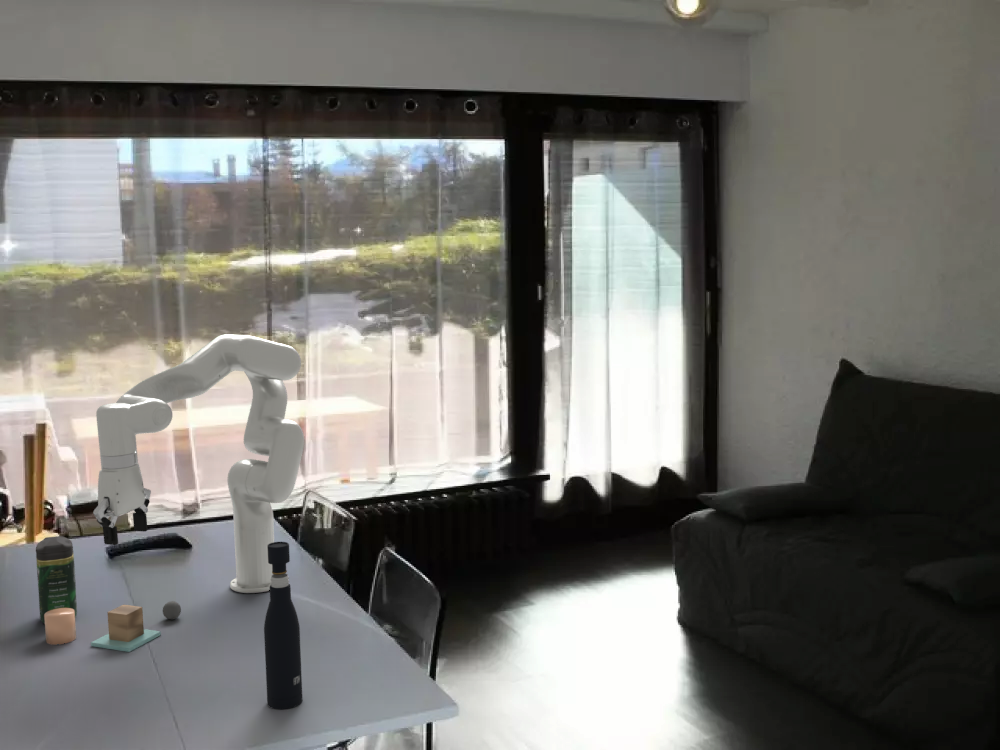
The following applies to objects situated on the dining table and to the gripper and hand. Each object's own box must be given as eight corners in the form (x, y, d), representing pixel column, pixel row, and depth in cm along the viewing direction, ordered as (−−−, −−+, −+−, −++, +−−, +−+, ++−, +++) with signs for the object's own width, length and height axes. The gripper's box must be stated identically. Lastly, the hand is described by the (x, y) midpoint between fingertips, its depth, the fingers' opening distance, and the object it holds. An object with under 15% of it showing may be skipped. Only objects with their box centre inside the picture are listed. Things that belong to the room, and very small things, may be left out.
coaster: (123, 629, 233) (123, 626, 233) (160, 634, 229) (160, 631, 229) (91, 645, 224) (90, 642, 224) (129, 651, 220) (129, 648, 220)
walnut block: (125, 631, 230) (123, 604, 229) (143, 633, 228) (142, 607, 227) (109, 639, 225) (107, 612, 224) (128, 642, 224) (126, 614, 223)
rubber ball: (170, 614, 242) (169, 598, 241) (185, 616, 240) (184, 599, 240) (159, 620, 238) (158, 603, 238) (173, 622, 237) (172, 605, 236)
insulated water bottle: (269, 695, 198) (262, 540, 194) (304, 693, 199) (297, 538, 195) (265, 710, 192) (257, 550, 188) (300, 708, 192) (294, 548, 189)
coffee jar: (78, 622, 238) (73, 542, 235) (40, 627, 235) (34, 546, 232) (77, 608, 247) (72, 531, 244) (40, 614, 244) (34, 535, 241)
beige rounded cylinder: (60, 632, 232) (58, 606, 231) (82, 636, 230) (80, 609, 229) (39, 642, 226) (37, 615, 225) (61, 646, 224) (60, 619, 223)
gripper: (131, 451, 237) (138, 524, 239) (76, 469, 221) (84, 548, 223) (159, 452, 234) (165, 527, 237) (106, 471, 218) (113, 551, 221)
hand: (126, 537), depth 230 cm, fingers open, 9 cm apart
